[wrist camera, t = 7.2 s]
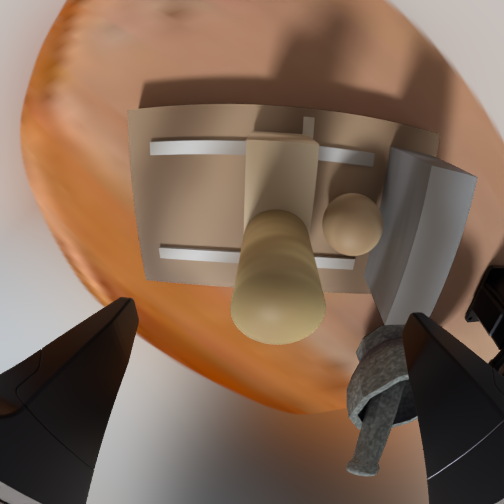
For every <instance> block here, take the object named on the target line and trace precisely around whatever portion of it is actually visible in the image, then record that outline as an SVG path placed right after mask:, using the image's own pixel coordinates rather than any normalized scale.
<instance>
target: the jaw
mask: <svg viewBox="0 0 504 504" xmlns="http://www.w3.org/2000/svg"><path fill="white" fill-rule="evenodd" d="M319 146H320V145H319V144H318V143H317V142H316V141H314V140H313V139H312V138H311V137H310V136H308V135H304V134H293V133H280V132H263V131H252V132H251V133H250V135H249V136H248V138H247V139H246V166H245V200H244V236H243V242H242V247H241V252H240V258H239V263H238V268H237V274H236V279H235V284H234V290H233V295H232V301H231V309H230V310H231V316H232V319H233V322H234V323H235V325H236V327H237V328H238V329H239V330H240V331H241V332H242V333H243V334H245V335H246V336H248V337H249V338H251V339H253V340H256V341H258V342H262V343H266V344H288V343H293V342H296V341H299V340H301V339H303V338H305V337H307V336H309V335H310V334H311V333H313V332H314V331H315V330H316V329H317V328H318V327H319V325H320V324H321V322H322V320H323V318H324V315H325V311H326V304H325V299H324V294H323V290H322V286H321V282H320V278H319V273H318V269H317V265H316V261H315V257H314V253H313V250H312V246H311V242H310V238H309V234H310V227H311V219H312V211H313V203H314V195H315V186H316V177H317V167H318V157H319Z"/></svg>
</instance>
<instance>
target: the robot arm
mask: <svg viewBox="0 0 504 504" xmlns="http://www.w3.org/2000/svg"><path fill="white" fill-rule="evenodd" d="M465 320H466V321H467V322H477V321H480V322H481V324H482V325H483V327H484V329H485V330H486V332H487V333H488V335H489V336H491V337H492V339H493V341H494V342H495V344H496V346H497V347H498V349H499V350H501V351H500V352H499V353H498V354H497V355H496V356H495V357H494V358H493V359H492V360H491V361H490V362H489V363H486V362H485V361H484V360H483V359H481V358H480V357H479V356H478V355H477V354H475V353H474V352H473V351H472V350H470V349H469V348H468V347H467V346H465V345H464V344H463V343H462V342H460V341H459V340H458V339H456V338H455V337H454V336H453V335H451V334H450V333H449V332H447V331H446V330H445V329H444V328H442V327H441V326H440V325H438V324H437V323H436V322H434V321H433V320H432V319H430V318H429V317H428V316H426V315H425V314H424V313H422V312H413V313H411V314H410V315H409V317H408V320H407V322H406V324H405V326H404V328H403V331H402V341H403V346H404V352H405V359H406V365H407V371H408V377H409V381H410V385H411V390H412V394H413V398H414V403H415V407H416V412H417V417H418V422H419V427H420V433H421V439H422V445H423V450H424V458H425V465H426V473H427V479H428V480H427V484H428V494H429V504H504V266H495V265H491V266H490V267H489V268H488V269H487V271H486V274H485V276H484V278H483V281H482V283H481V285H480V287H479V290H478V292H477V294H476V296H475V298H474V300H473V302H472V304H471V306H470V308H469V310H468V312H467V314H466V316H465ZM138 323H139V318H138V314H137V310H136V306H135V302H134V300H133V299H132V298H127V297H120V298H119V299H117V300H115V301H114V302H112V303H111V304H109V305H107V306H106V307H104V308H103V309H101V310H100V311H98V312H97V313H95V314H93V315H92V316H90V317H89V318H87V319H86V320H84V321H83V322H81V323H80V324H78V325H76V326H75V327H73V328H72V329H70V330H69V331H68V332H66V333H65V334H63V335H62V336H60V337H58V338H57V339H55V340H54V341H52V342H51V343H49V344H48V345H46V346H45V347H43V348H42V350H41V349H40V350H39V351H37V352H36V353H34V354H33V355H31V356H30V357H28V358H27V359H25V360H24V361H22V362H21V363H19V364H17V365H16V366H14V367H12V368H11V369H9V370H7V371H5V372H3V373H2V374H0V504H86V501H87V497H88V492H89V488H90V484H91V480H92V476H93V472H94V468H95V464H96V461H97V457H98V454H99V450H100V447H101V443H102V439H103V437H104V433H105V430H106V427H107V424H108V421H109V417H110V414H111V411H112V408H113V405H114V402H115V399H116V396H117V393H118V390H119V387H120V385H121V382H122V379H123V376H124V374H125V371H126V368H127V365H128V362H129V358H130V354H131V350H132V346H133V342H134V338H135V335H136V331H137V327H138Z"/></svg>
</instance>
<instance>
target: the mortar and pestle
mask: <svg viewBox="0 0 504 504" xmlns="http://www.w3.org/2000/svg"><path fill="white" fill-rule="evenodd" d="M404 326H405V325H404V324H403V325H385V326H381V327H379V328H377V329H376V330H374V331H373V332H372V333H370V334H369V335H367V336H366V337H364V338H363V339H362V341H361V343H360V345H359V347H358V349H357V351H356V354H357V357H358V360H359V362H360V363H359V364H358V366H357V368H356V370H355V371H354V373H353V375H352V377H351V380H350V383H349V385H348V388H347V409H348V415H349V418H350V419H351V421H352V422H353V423H354V425H355V426H356V427H357V428H358V429H361V430H360V434H359V438H358V441H357V445H356V449H355V452H354V456H353V459H352V460H351V461H350V462H348V464H347V467H346V470H347V471H349V472H350V473H353V474H356V475H360V476H374V475H376V474H377V473H378V471H379V464H378V462H379V459H380V457H381V455H382V452H383V449H384V447H385V444H386V442H387V439H388V436H389V433H390V430H391V428H392V427H396V426H399V425H403V424H407V423H410V422H412V421H414V420H416V419H417V418H418V417H417V412H416V407H415V403H414V398H413V394H412V390H411V385H410V381H409V377H408V371H407V365H406V359H405V352H404V346H403V341H402V331H403V328H404Z"/></svg>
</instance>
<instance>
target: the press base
mask: <svg viewBox="0 0 504 504" xmlns="http://www.w3.org/2000/svg"><path fill="white" fill-rule="evenodd" d="M252 131H263V132H280V133H293V134H304V135H308V136H310V137H311V138H312V139H313V140H314V141H316V142H317V143H318V144H319V145H320V146H319V157H318V167H317V177H316V186H315V195H314V203H313V211H312V219H311V227H310V234H309V238H310V242H311V246H312V250H313V253H314V257H315V261H316V265H317V269H318V273H319V278H320V282H321V286H322V290H323V292H333V293H366V294H372V296H373V299H374V301H375V303H376V306H377V308H378V310H379V313H380V315H381V318H382V320H383V323H384V325H403V324H406V322H407V320H408V317H409V315H410V314H411V313H413V312H422V313H424V314H425V315H426V316H428V317H430V315H431V313H432V311H433V309H434V306H435V304H436V302H437V300H438V298H439V295H440V293H441V291H442V288H443V286H444V283H445V281H446V279H447V276H448V274H449V271H450V268H451V266H452V263H453V260H454V258H455V255H456V252H457V249H458V246H459V243H460V240H461V237H462V234H463V231H464V228H465V224H466V221H467V217H468V214H469V210H470V206H471V203H472V199H473V195H474V190H475V186H476V182H477V177H476V176H474V175H472V174H470V173H468V172H466V171H464V170H462V169H460V168H458V167H456V166H454V165H452V164H450V163H447V162H445V161H443V160H441V159H439V158H437V152H438V146H439V139H440V134H438V133H435V132H431V131H428V130H424V129H420V128H416V127H412V126H408V125H404V124H400V123H396V122H391V121H386V120H382V119H377V118H371V117H366V116H360V115H354V114H348V113H342V112H335V111H327V110H319V109H310V108H301V107H289V106H275V105H255V104H196V105H176V106H162V107H151V108H141V109H132V110H128V135H129V152H130V166H131V178H132V188H133V197H134V206H135V214H136V222H137V229H138V236H139V242H140V248H141V255H142V260H143V266H144V272H145V277H146V280H151V281H161V282H172V283H184V284H196V285H209V286H222V287H234V284H235V279H236V274H237V268H238V263H239V258H240V252H241V247H242V242H243V236H244V200H245V166H246V139H247V138H248V136H249V135H250V133H251V132H252ZM347 193H358V194H361V195H364V196H366V197H368V198H370V199H371V200H372V201H373V202H374V203H375V204H376V205H377V206H378V208H379V210H380V212H381V214H382V218H383V232H382V236H381V238H380V240H379V242H378V243H377V245H376V246H375V247H374V248H373V249H372V250H370V251H369V252H367V253H365V254H362V255H358V256H348V255H344V254H341V253H339V252H338V251H336V250H335V249H333V248H332V247H331V246H330V245H329V243H328V242H327V240H326V238H325V236H324V233H323V228H322V219H323V215H324V212H325V210H326V208H327V206H328V205H329V204H330V203H331V201H333V200H334V199H335V198H337V197H338V196H340V195H343V194H347Z"/></svg>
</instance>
